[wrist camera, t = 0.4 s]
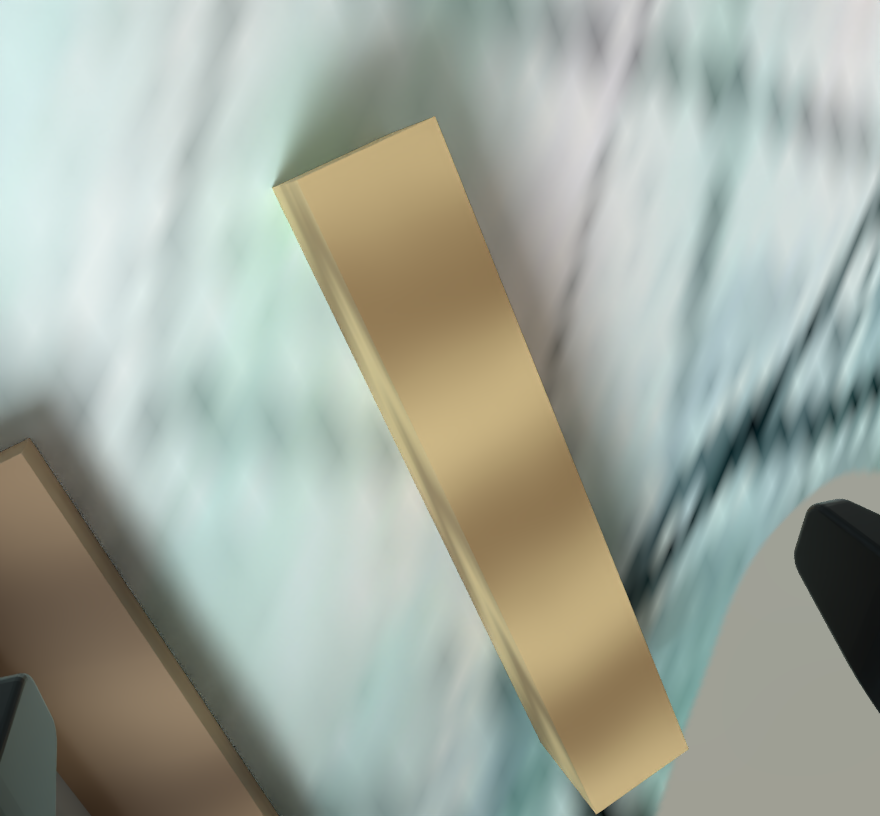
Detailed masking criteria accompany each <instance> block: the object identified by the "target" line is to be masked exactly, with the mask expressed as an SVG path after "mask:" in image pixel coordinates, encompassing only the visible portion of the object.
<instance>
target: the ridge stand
mask: <svg viewBox="0 0 880 816" xmlns="http://www.w3.org/2000/svg"><path fill="white" fill-rule="evenodd" d="M19 673H26V674H28V675H29V676H31V677H32V679H33V680H34V682H35V684H36V686H37V688H38V690H39V692H40V694H41V696H42V698H43V700H44V702H45V704H46V706H47V708H48V710H49V712H50V714H51V716H52V718H53V720H54V724H55V728H56V735H57V765H56V812H55V816H279V815H278V814H277V812H276V811H275V809H274V808H273V806H272V805H271V803H270V802H269V800H268V799H267V797H266V796H265V794H264V793H263V791H262V790H261V788H260V787H259V785H258V783H257V782H256V780H255V779H254V777H253V776H252V774H251V773H250V771H249V770H248V768H247V767H246V765H245V764H244V762H243V761H242V759H241V758H240V756H239V755H238V753H237V752H236V750H235V749H234V747H233V746H232V744H231V743H230V741H229V740H228V738H227V736H226V735H225V733H224V732H223V730H222V729H221V727H220V726H219V724H218V723H217V721H216V720H215V718H214V717H213V715H212V714H211V712H210V711H209V709H208V708H207V706H206V705H205V703H204V702H203V700H202V699H201V697H200V696H199V694H198V692H197V691H196V689H195V688H194V686H193V685H192V683H191V682H190V680H189V679H188V677H187V676H186V674H185V673H184V671H183V670H182V668H181V667H180V665H179V664H178V662H177V661H176V659H175V658H174V656H173V655H172V653H171V652H170V650H169V648H168V647H167V645H166V644H165V642H164V641H163V639H162V638H161V636H160V635H159V633H158V632H157V630H156V629H155V627H154V626H153V624H152V623H151V621H150V620H149V618H148V617H147V615H146V614H145V612H144V611H143V609H142V608H141V606H140V604H139V603H138V601H137V600H136V598H135V597H134V595H133V594H132V592H131V591H130V589H129V588H128V586H127V585H126V583H125V582H124V580H123V579H122V577H121V576H120V574H119V573H118V571H117V570H116V568H115V567H114V565H113V564H112V562H111V560H110V559H109V557H108V556H107V554H106V553H105V551H104V550H103V548H102V547H101V545H100V544H99V542H98V541H97V539H96V538H95V536H94V535H93V533H92V532H91V530H90V529H89V527H88V526H87V524H86V523H85V521H84V520H83V518H82V516H81V515H80V513H79V512H78V510H77V509H76V507H75V506H74V504H73V503H72V501H71V500H70V498H69V497H68V495H67V494H66V492H65V491H64V489H63V488H62V486H61V485H60V483H59V482H58V480H57V479H56V477H55V476H54V474H53V472H52V471H51V469H50V468H49V466H48V465H47V463H46V462H45V460H44V459H43V457H42V456H41V454H40V453H39V451H38V450H37V448H36V447H35V445H34V444H33V442H32V441H31V439H30V438H28V439H26V440H24V441H22V442H20V443H18V444H16V445H14V446H12V447H10V448H8V449H6V450H4V451H2V452H0V677H5V676H9V675H14V674H19Z"/></svg>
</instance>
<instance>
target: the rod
mask: <svg viewBox="0 0 880 816" xmlns="http://www.w3.org/2000/svg"><path fill="white" fill-rule="evenodd" d="M272 189H273V191H274V193H275V195H276V197H277V199H278V201H279V203H280V205H281V207H282V210H283V212H284V214H285V216H286V218H287V220H288V222H289V224H290V226H291V228H292V230H293V232H294V234H295V236H296V238H297V240H298V243H299V245H300V247H301V249H302V251H303V253H304V255H305V257H306V259H307V261H308V263H309V265H310V267H311V269H312V271H313V273H314V276H315V278H316V280H317V282H318V284H319V286H320V288H321V290H322V292H323V294H324V296H325V298H326V300H327V302H328V304H329V306H330V309H331V311H332V313H333V315H334V317H335V319H336V321H337V323H338V325H339V327H340V329H341V331H342V333H343V335H344V337H345V340H346V342H347V344H348V346H349V348H350V350H351V352H352V354H353V356H354V358H355V360H356V362H357V364H358V366H359V368H360V370H361V373H362V375H363V377H364V379H365V381H366V383H367V385H368V387H369V389H370V391H371V393H372V395H373V397H374V399H375V401H376V403H377V406H378V408H379V410H380V412H381V414H382V416H383V418H384V420H385V422H386V424H387V426H388V428H389V430H390V432H391V434H392V436H393V439H394V441H395V443H396V445H397V447H398V449H399V451H400V453H401V455H402V457H403V459H404V461H405V463H406V465H407V467H408V470H409V472H410V474H411V476H412V478H413V480H414V482H415V484H416V486H417V488H418V490H419V492H420V494H421V496H422V498H423V500H424V503H425V505H426V507H427V509H428V511H429V513H430V515H431V517H432V519H433V521H434V523H435V525H436V527H437V529H438V531H439V533H440V536H441V538H442V540H443V542H444V544H445V546H446V548H447V550H448V552H449V554H450V556H451V558H452V560H453V562H454V564H455V566H456V569H457V571H458V573H459V575H460V577H461V579H462V581H463V583H464V585H465V587H466V589H467V591H468V593H469V595H470V597H471V600H472V602H473V604H474V606H475V608H476V610H477V612H478V614H479V616H480V618H481V620H482V622H483V624H484V626H485V628H486V630H487V633H488V635H489V637H490V639H491V641H492V643H493V645H494V647H495V649H496V651H497V653H498V655H499V657H500V659H501V661H502V663H503V666H504V668H505V670H506V672H507V674H508V676H509V678H510V680H511V682H512V684H513V686H514V688H515V690H516V692H517V694H518V696H519V699H520V701H521V703H522V705H523V707H524V709H525V711H526V713H527V715H528V717H529V719H530V721H531V723H532V725H533V727H534V730H535V732H536V734H537V736H538V738H539V740H540V742H541V743H542V745H543V746H544V747H545V749H546V750H547V751H548V752H549V754H550V755H551V756H552V758H553V759H554V760H555V761H556V763H557V764H558V765H559V767H560V768H561V769H562V771H563V772H564V773H565V774H566V776H567V777H568V778H569V780H570V781H571V782H572V783H573V785H574V786H575V787H576V789H577V790H578V791H579V793H580V794H581V795H582V796H583V798H584V799H585V800H586V802H587V803H588V804H589V805H590V807H591V808H592V809H593V811H594V812H595V813H596V814H598V813H599V812H600V811H602V810H603V809H605V808H606V807H608V806H609V805H610V804H612V803H613V802H615V801H616V800H617V799H619V798H620V797H622V796H623V795H624V794H626V793H627V792H629V791H630V790H632V789H633V788H634V787H636V786H637V785H639V784H640V783H641V782H643V781H644V780H646V779H647V778H649V777H650V776H651V775H653V774H654V773H656V772H657V771H658V770H660V769H661V768H663V767H664V766H665V765H667V764H668V763H670V762H671V761H673V760H674V759H675V758H677V757H678V756H680V755H681V754H682V753H684V752H685V751H687V750H688V746H687V744H686V741H685V739H684V736H683V734H682V731H681V729H680V726H679V724H678V721H677V719H676V716H675V714H674V711H673V709H672V706H671V704H670V701H669V699H668V696H667V694H666V691H665V689H664V686H663V684H662V681H661V679H660V676H659V674H658V671H657V669H656V666H655V664H654V661H653V659H652V656H651V654H650V651H649V649H648V646H647V644H646V641H645V639H644V636H643V634H642V631H641V629H640V626H639V624H638V621H637V619H636V616H635V614H634V611H633V609H632V606H631V604H630V601H629V599H628V596H627V594H626V591H625V589H624V586H623V584H622V581H621V579H620V576H619V574H618V572H617V569H616V567H615V564H614V562H613V559H612V557H611V554H610V552H609V549H608V547H607V544H606V542H605V539H604V537H603V534H602V532H601V529H600V527H599V524H598V522H597V519H596V517H595V514H594V512H593V509H592V507H591V504H590V502H589V499H588V497H587V494H586V492H585V489H584V487H583V484H582V482H581V479H580V477H579V474H578V472H577V469H576V467H575V464H574V462H573V459H572V457H571V454H570V452H569V449H568V447H567V444H566V442H565V439H564V437H563V434H562V432H561V429H560V427H559V424H558V422H557V419H556V417H555V414H554V412H553V409H552V407H551V404H550V402H549V399H548V397H547V394H546V392H545V389H544V387H543V384H542V382H541V379H540V377H539V374H538V372H537V369H536V367H535V364H534V362H533V359H532V357H531V354H530V352H529V349H528V347H527V344H526V342H525V339H524V337H523V334H522V332H521V329H520V327H519V324H518V322H517V319H516V317H515V314H514V312H513V309H512V307H511V304H510V302H509V299H508V297H507V294H506V292H505V289H504V287H503V284H502V282H501V279H500V277H499V275H498V272H497V270H496V267H495V265H494V262H493V260H492V257H491V255H490V252H489V250H488V247H487V245H486V242H485V240H484V237H483V235H482V232H481V230H480V227H479V225H478V222H477V220H476V217H475V215H474V212H473V210H472V207H471V205H470V202H469V200H468V197H467V195H466V192H465V190H464V187H463V185H462V182H461V180H460V177H459V175H458V172H457V170H456V167H455V165H454V162H453V160H452V157H451V155H450V152H449V150H448V147H447V145H446V142H445V140H444V137H443V135H442V132H441V130H440V127H439V125H438V122H437V120H436V117H435V116H434V117H432V118H429V119H427V120H424V121H422V122H419V123H416V124H414V125H411V126H409V127H406V128H403V129H401V130H398V131H396V132H393V133H391V134H388V135H386V136H384V137H382V138H379V139H377V140H375V141H373V142H371V143H369V144H366V145H364V146H362V147H360V148H358V149H356V150H353V151H351V152H349V153H347V154H345V155H343V156H340V157H338V158H336V159H334V160H332V161H329V162H327V163H325V164H323V165H321V166H319V167H316V168H314V169H312V170H310V171H308V172H306V173H303V174H301V175H299V176H297V177H295V178H293V179H290V180H288V181H286V182H284V183H282V184H279V185H277V186H275V187H273V188H272Z"/></svg>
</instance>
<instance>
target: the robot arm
mask: <svg viewBox="0 0 880 816" xmlns="http://www.w3.org/2000/svg"><path fill="white" fill-rule="evenodd" d="M794 559H795V564H796V567H797V570H798V573H799V575H800V576H801V578H802V580H803V582H804V584H805V586H806V587H807V589H808V591H809V593H810V595H811V597H812V598H813V600H814V602H815V604H816V606H817V608H818V609H819V611H820V613H821V615H822V617H823V619H824V621H825V622H826V624H827V626H828V628H829V630H830V631H831V633H832V635H833V637H834V639H835V641H836V642H837V644H838V646H839V648H840V650H841V651H842V654H843V655H844V657H845V659H846V661H847V663H848V664H849V666H850V668H851V669H852V671H853V673H854V675H855V676H856V678H857V680H858V681H859V683H860V684H861V686H862V688H863V689H864V691H865V692H866V694H867V695H868V697H869V698H870V700H871V701H872V703H873V704H874V706H875V707H876V709H877V710H878V712H879V713H880V515H879V514H877V513H875V512H873V511H871V510H868V509H866V508H864V507H862V506H860V505H857V504H855V503H853V502H851V501H848V500H845V499H835V500H830V501H826V502H821V503H816V504H814V505H812V506H811V507H810V508H809V509H808V510H807V512H806V515H805V518H804V522H803V525H802V528H801V531H800V535H799V538H798V541H797V544H796V547H795V551H794ZM56 765H57V735H56V728H55V724H54V720H53V718H52V716H51V714H50V712H49V710H48V708H47V706H46V704H45V702H44V700H43V698H42V696H41V694H40V692H39V690H38V688H37V686H36V684H35V682H34V680H33V679H32V677H31V676H29V675H28V674H26V673H19V674H14V675H9V676H5V677H0V816H55V812H56Z"/></svg>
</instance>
